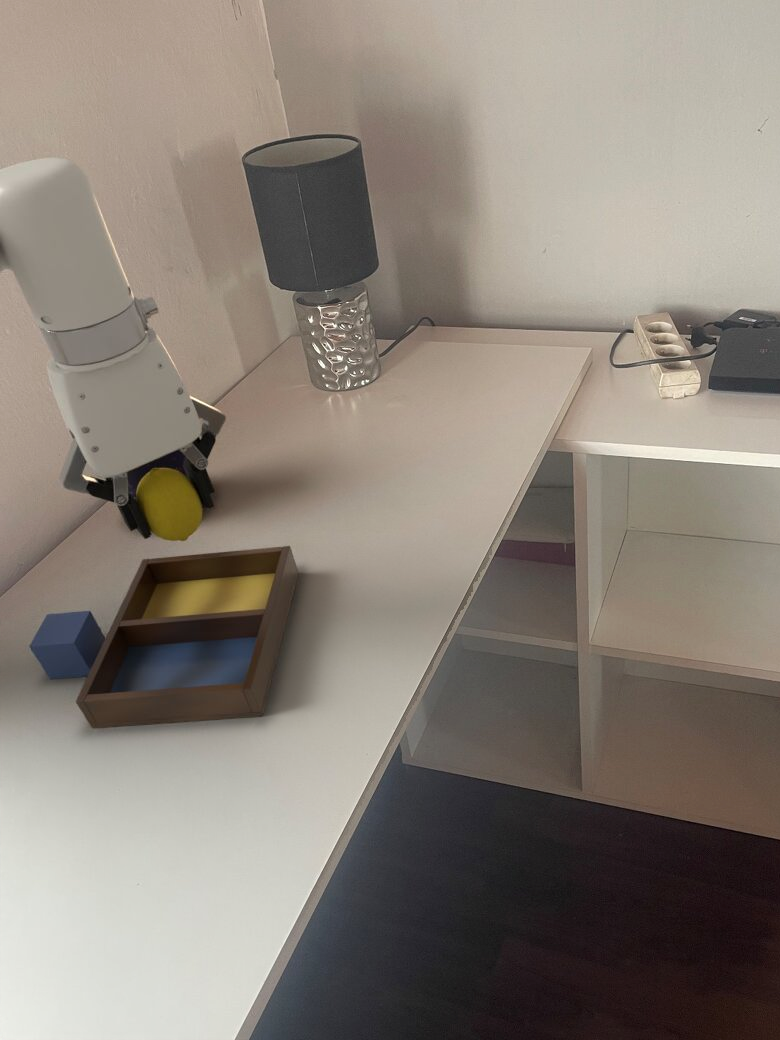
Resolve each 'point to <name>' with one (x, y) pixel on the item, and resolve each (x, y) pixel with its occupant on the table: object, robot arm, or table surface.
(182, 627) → the sorting tray
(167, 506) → the lemon
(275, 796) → the table surface
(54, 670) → the blue block
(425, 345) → the table surface
